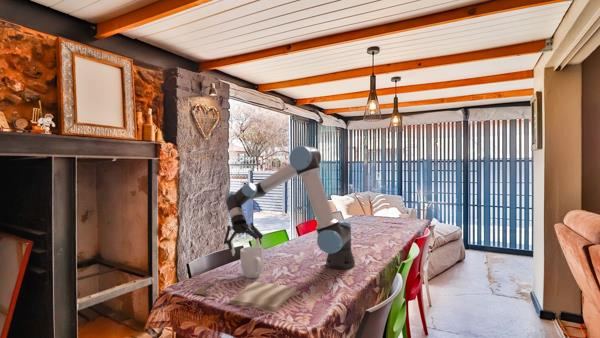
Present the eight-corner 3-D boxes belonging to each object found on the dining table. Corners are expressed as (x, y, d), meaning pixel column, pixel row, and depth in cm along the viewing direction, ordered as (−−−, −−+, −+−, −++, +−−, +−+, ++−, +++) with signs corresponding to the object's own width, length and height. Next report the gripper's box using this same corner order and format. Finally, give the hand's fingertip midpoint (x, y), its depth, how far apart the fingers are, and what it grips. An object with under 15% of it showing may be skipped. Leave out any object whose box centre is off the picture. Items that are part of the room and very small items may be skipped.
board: (296, 290, 137) (296, 286, 137) (275, 310, 118) (275, 306, 118) (255, 284, 144) (255, 281, 144) (229, 303, 126) (229, 299, 126)
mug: (271, 279, 151) (271, 251, 151) (250, 284, 145) (249, 255, 145) (257, 270, 164) (257, 245, 163) (237, 275, 158) (236, 248, 157)
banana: (189, 300, 133) (189, 295, 133) (206, 282, 153) (206, 278, 153) (211, 297, 132) (210, 292, 132) (225, 280, 153) (224, 276, 153)
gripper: (258, 219, 181) (269, 252, 168) (213, 224, 169) (221, 260, 156) (261, 211, 176) (272, 244, 163) (215, 215, 164) (223, 252, 151)
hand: (247, 252), depth 160 cm, fingers open, 13 cm apart
